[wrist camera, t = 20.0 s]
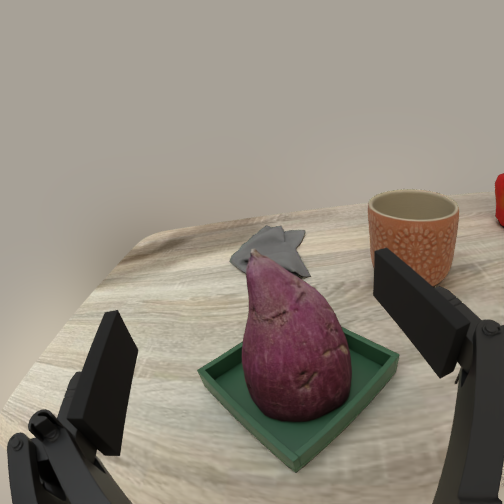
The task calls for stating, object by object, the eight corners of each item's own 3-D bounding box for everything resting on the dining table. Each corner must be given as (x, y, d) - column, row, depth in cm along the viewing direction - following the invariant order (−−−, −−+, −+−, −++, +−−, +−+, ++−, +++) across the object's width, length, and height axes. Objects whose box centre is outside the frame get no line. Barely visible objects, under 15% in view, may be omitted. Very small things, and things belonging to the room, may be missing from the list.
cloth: (242, 231, 65) (240, 221, 64) (306, 223, 62) (305, 213, 61) (213, 304, 42) (209, 291, 41) (311, 297, 39) (310, 282, 38)
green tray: (295, 473, 18) (293, 462, 17) (204, 385, 29) (196, 369, 28) (396, 371, 25) (399, 354, 24) (299, 321, 36) (297, 304, 34)
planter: (463, 296, 31) (476, 217, 27) (377, 308, 34) (378, 225, 30) (434, 252, 42) (437, 186, 37) (363, 259, 45) (360, 192, 40)
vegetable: (240, 404, 29) (158, 291, 24) (303, 342, 34) (246, 228, 29) (311, 449, 20) (218, 313, 16) (379, 362, 25) (329, 219, 21)
